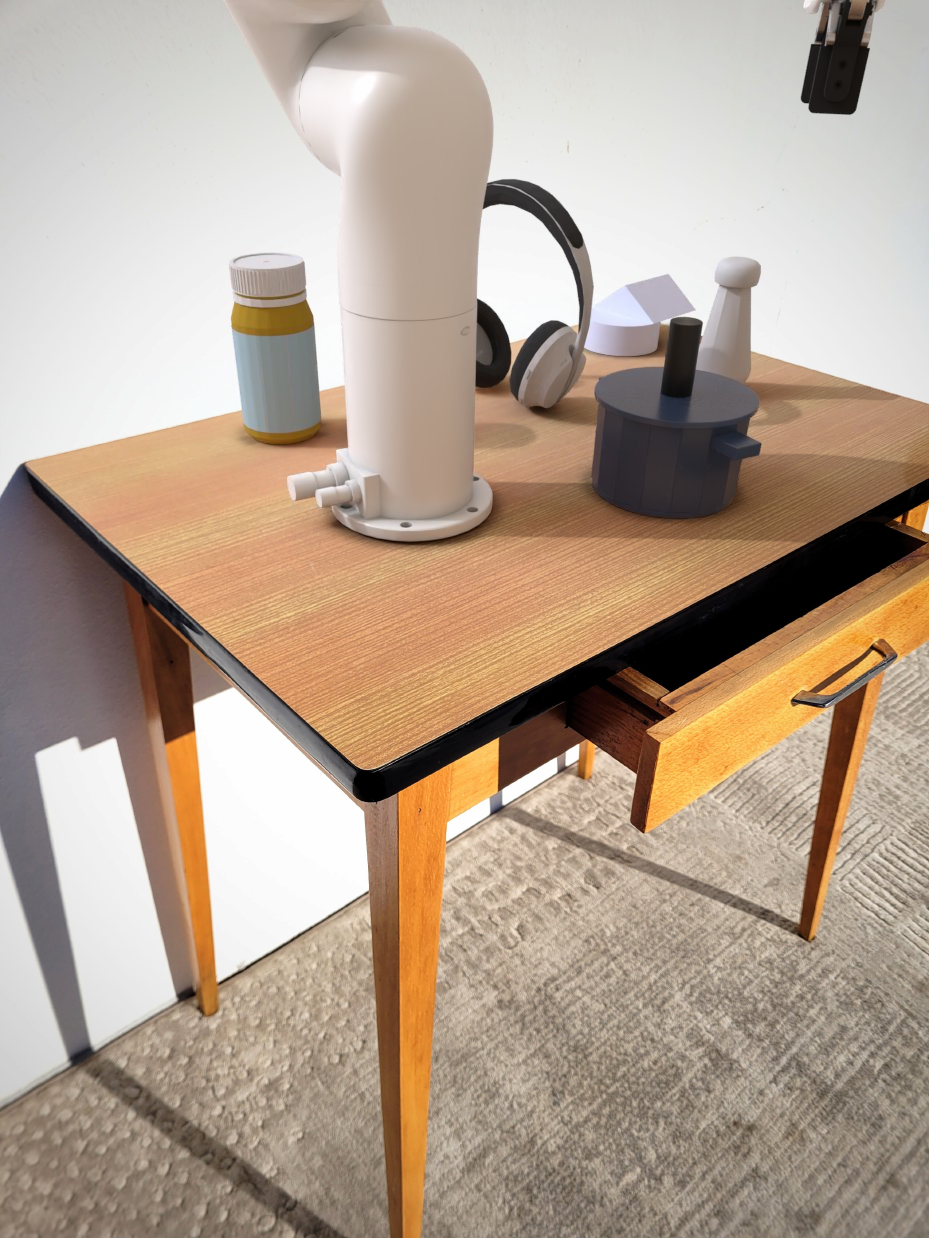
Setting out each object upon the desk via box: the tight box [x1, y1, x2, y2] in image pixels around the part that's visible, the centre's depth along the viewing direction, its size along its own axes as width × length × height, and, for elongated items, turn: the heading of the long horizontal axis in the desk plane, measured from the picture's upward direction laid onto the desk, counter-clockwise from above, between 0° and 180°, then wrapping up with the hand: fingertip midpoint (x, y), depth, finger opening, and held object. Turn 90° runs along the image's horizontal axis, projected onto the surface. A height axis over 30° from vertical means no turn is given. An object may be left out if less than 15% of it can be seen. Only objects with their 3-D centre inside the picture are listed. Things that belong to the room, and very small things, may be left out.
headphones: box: [475, 178, 595, 409], centre depth 88 cm, size 19×8×20 cm, turn 45°
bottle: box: [228, 251, 322, 445], centre depth 80 cm, size 7×7×15 cm
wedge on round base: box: [584, 273, 697, 357], centre depth 108 cm, size 9×7×13 cm
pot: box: [590, 376, 762, 519], centre depth 74 cm, size 12×17×8 cm
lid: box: [593, 316, 760, 429], centre depth 70 cm, size 13×13×7 cm
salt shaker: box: [696, 256, 762, 384], centre depth 92 cm, size 6×6×13 cm
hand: (825, 108), depth 69 cm, fingers open, 9 cm apart
